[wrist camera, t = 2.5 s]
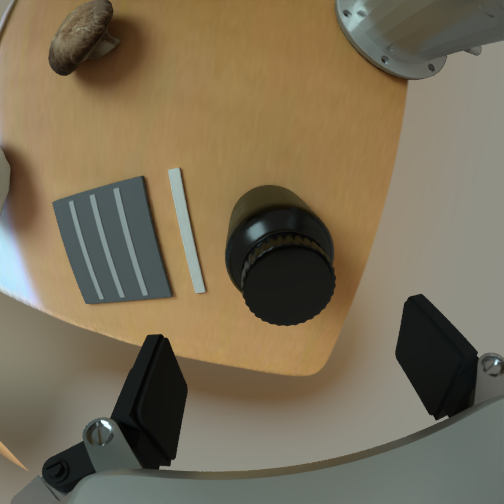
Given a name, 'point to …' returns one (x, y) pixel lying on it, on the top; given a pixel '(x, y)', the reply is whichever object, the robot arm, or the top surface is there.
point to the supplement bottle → (279, 256)
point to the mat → (113, 243)
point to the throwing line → (186, 229)
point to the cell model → (4, 179)
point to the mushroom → (82, 37)
